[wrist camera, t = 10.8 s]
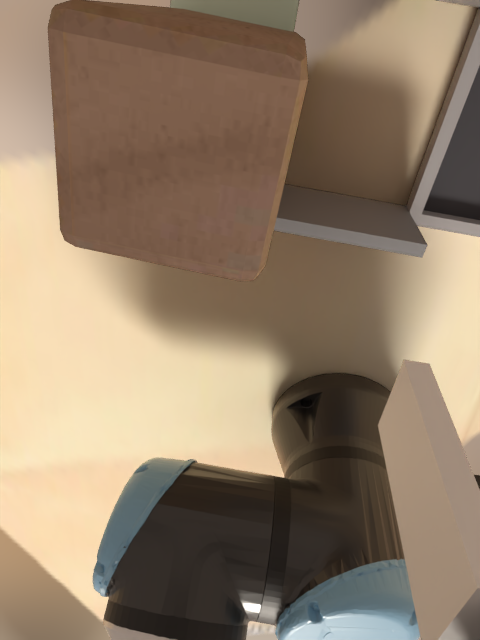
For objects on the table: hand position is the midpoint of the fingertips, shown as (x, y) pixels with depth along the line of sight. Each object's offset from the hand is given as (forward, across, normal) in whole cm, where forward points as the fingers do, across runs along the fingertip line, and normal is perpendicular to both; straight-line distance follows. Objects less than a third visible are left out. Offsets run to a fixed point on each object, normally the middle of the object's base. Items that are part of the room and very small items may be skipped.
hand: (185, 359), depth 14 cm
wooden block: (+28, +3, -4) cm, 28 cm away
